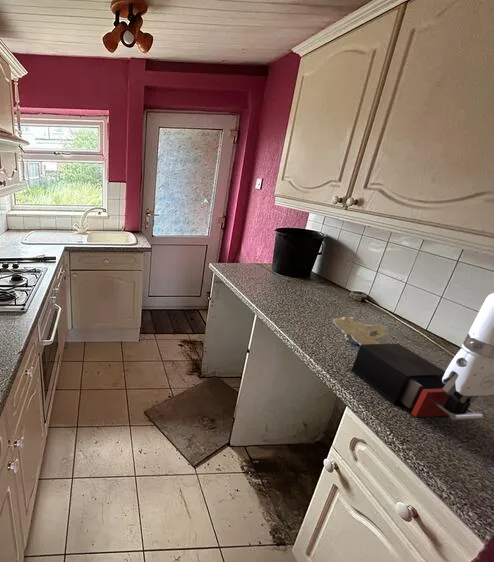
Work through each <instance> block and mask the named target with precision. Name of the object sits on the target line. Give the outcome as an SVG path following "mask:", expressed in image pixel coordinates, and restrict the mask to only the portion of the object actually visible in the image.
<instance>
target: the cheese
mask: <svg viewBox="0 0 494 562" xmlns="http://www.w3.org/2000/svg"><path fill="white" fill-rule="evenodd" d="M356 319H357V317H356V316H353V317H352V316H350V317H347V316H343V317H337V318H334V319H333V320H332V321H333V323H334V324H335V326H336V327H338V329H340V331H342V333H343V335H344V337H345V340H346V342H351V343H356V344H359V346H361V345H362V344H389V342H390V339H391V332H390V330H389V329H388V328H387V327H386V325H384V324H378V323H377V324H376V323H375V324H366V323H363V322H360V321H358V322H357V320H356Z"/></svg>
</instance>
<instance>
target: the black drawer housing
mask: <svg viewBox="0 0 494 562" xmlns="http://www.w3.org/2000/svg"><path fill="white" fill-rule="evenodd" d="M354 359H355V360H354V362H353V365H352V367H351V372H352V373H354V374H355V375H356V376H357V377H359V379H361V380H362V381H364V382H365V383H366V384H368V385H369V386H370V387H371V388H372V389H373V390H375V391H376V392H377V393H378V394H379V395H381V396H382V397H383V398H385V400H387V401H388V402H390V403H391V404H392V405H394V406H395V405H404V404H403V403H402V402H400V401H399V400H398V399H399V397H400V395H401V393H402V391H403V388H404V386H405V384H406V382H407V380H408V378H420V377H443V376H444V374H445V372H446V370H443V369H442V368H440V367H438V366H437V365H436V364H434V363H432V362H430V361H429V360H427V359H426V358H424V357H422V356H420V355H419V354H417V353H415V352H413V351H412V350H410V349H408V348H407V347H405V346H403V345H402V344H400V343H387V344H362V345H359V348H358V351H357V354H356V357H355V358H354Z"/></svg>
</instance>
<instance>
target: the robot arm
mask: <svg viewBox="0 0 494 562" xmlns="http://www.w3.org/2000/svg"><path fill="white" fill-rule="evenodd" d="M442 382H443V383H444V384H446V385H445V386H444V387H443V389H442V391H444V392H445V393H447V394H449V395H450V396H449V398H448V400H447V402H446V403H445V405H444V407H445V408H446V409H447V410H449V411H450V412H452V413H468V411H467V410H468V408H469V409H470V406H471V405H472V403H474V402H475V401H476V400H477V399H478V397H479V396H494V292H492V293H490V294H488V295H487V296H486V298H485V300H484V302H483V304H482V305H481V307H480V309H479V311H478V313H477V315H476V317H475V319H474V321H473V323H472V325H471V326H470V329H469V331H468V333H467V335H466V337H465V338H464V341H463V342H462V344H461V348H460V349H459V350H458V352H457V353H456V354H455V356H454V357H453V358H452V360H451V361H450V362H449V365H448V366H447V368H446V370H445V374H444V376H443V379H442Z"/></svg>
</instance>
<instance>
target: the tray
mask: <svg viewBox="0 0 494 562" xmlns="http://www.w3.org/2000/svg"><path fill="white" fill-rule="evenodd" d="M442 379H443V377H420V378H408V380H407V382H406V384H405V386H404V388H403V391H402V393H401V395H400V397H399V399H398V400H399V401H400V402H402V403H403V404H402V405H404V406H405V407H406V408H408V409H412V411H411V412H410V414H411V415H412V416H413V417H415V418H420V417H423V418H424V417H439V416H440V417H441V416H448V417H449V418H450V420H451V421H454V422H457V421H458V422H460V421H473V420H474V421H477V420H483V419H484V415H483V413H481V412H479V411H474V410H472V409H471V408H470V407H469V408H468V410H467V412H466V413H452V412H450V411H449V410H447V409H446V408H445V407H444V405H445V403H446V402H447V400H448V398H449V396H450V395H449V394H447V393H445V392H444V391H442V389H443V387H444V386H445V385H446V384H444V383H443V382H442Z"/></svg>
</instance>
